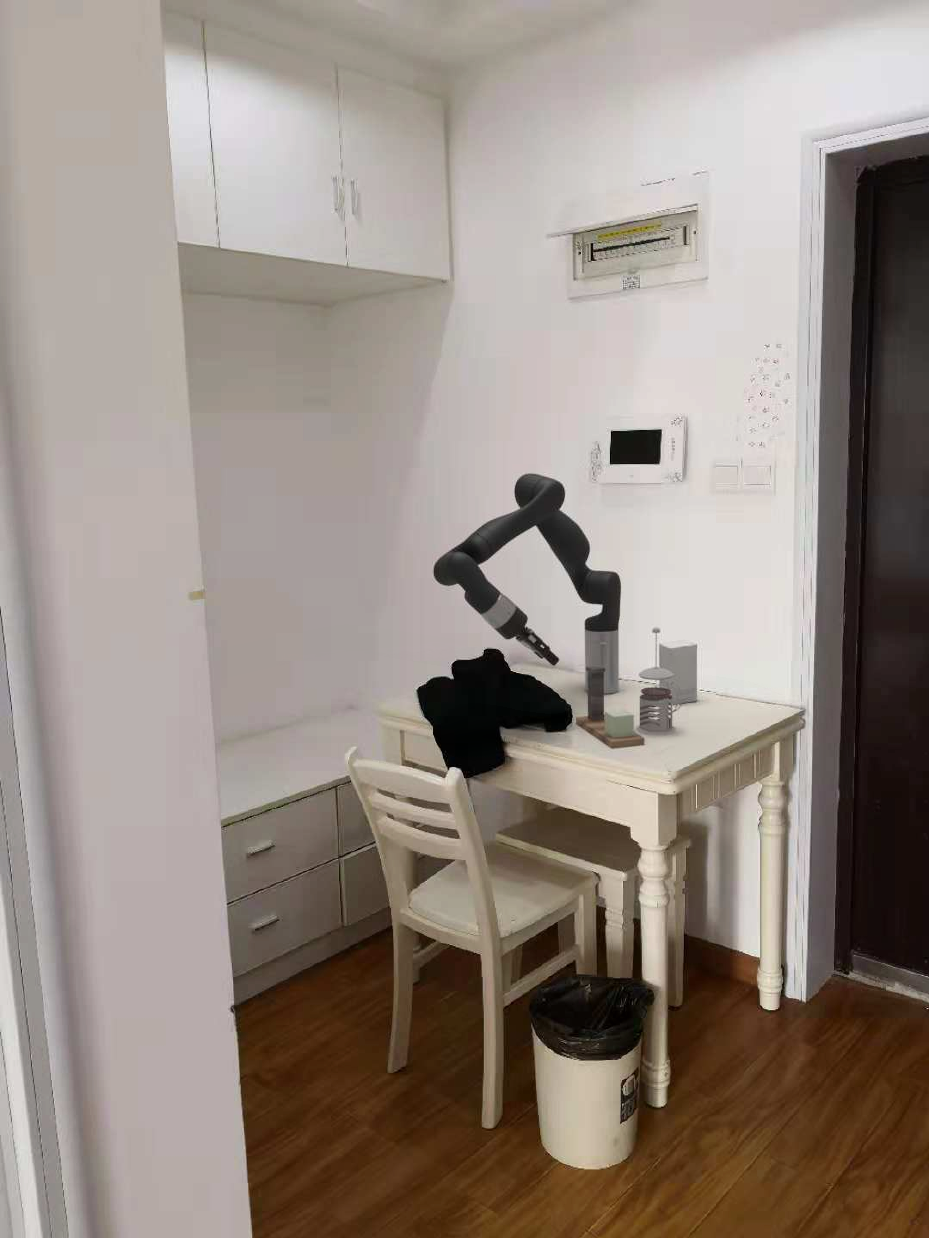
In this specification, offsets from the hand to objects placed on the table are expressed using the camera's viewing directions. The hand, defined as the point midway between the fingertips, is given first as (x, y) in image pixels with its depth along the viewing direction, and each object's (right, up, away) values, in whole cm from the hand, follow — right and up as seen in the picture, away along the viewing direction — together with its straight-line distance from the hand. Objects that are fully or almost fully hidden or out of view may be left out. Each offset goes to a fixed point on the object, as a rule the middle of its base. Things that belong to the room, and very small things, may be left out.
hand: (550, 659), depth 249 cm
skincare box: (+36, -12, +27) cm, 46 cm away
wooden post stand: (+14, -17, -2) cm, 22 cm away
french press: (+26, -17, 0) cm, 31 cm away
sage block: (+15, -17, -8) cm, 24 cm away
